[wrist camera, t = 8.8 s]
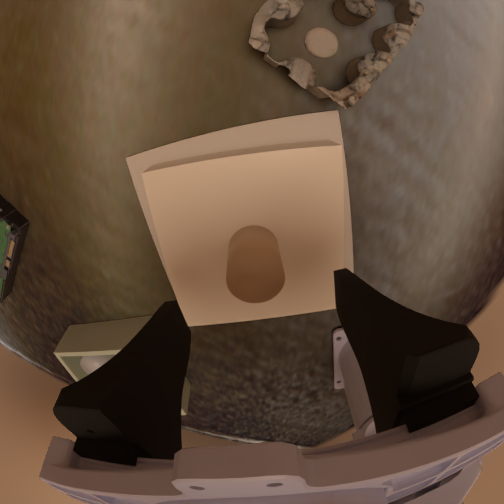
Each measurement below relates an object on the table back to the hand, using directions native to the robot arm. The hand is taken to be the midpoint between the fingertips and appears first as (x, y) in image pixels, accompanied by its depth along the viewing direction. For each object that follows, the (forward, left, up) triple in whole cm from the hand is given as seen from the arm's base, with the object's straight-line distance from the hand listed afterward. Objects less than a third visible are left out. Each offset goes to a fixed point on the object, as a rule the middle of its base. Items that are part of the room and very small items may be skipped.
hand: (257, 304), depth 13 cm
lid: (0, 0, -8) cm, 8 cm away
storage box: (-11, +15, -9) cm, 20 cm away
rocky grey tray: (+13, -8, -9) cm, 18 cm away
